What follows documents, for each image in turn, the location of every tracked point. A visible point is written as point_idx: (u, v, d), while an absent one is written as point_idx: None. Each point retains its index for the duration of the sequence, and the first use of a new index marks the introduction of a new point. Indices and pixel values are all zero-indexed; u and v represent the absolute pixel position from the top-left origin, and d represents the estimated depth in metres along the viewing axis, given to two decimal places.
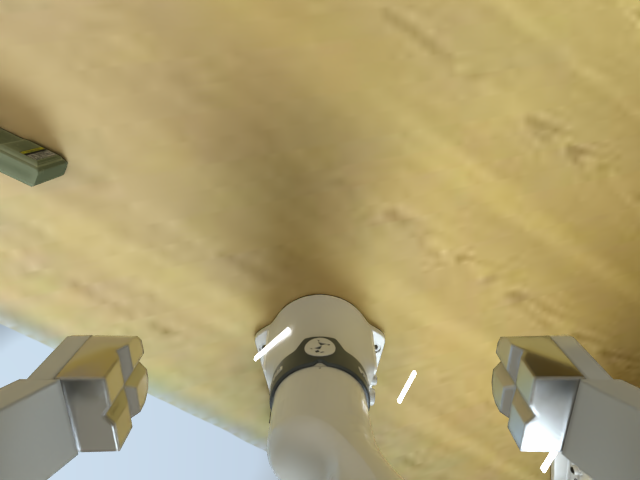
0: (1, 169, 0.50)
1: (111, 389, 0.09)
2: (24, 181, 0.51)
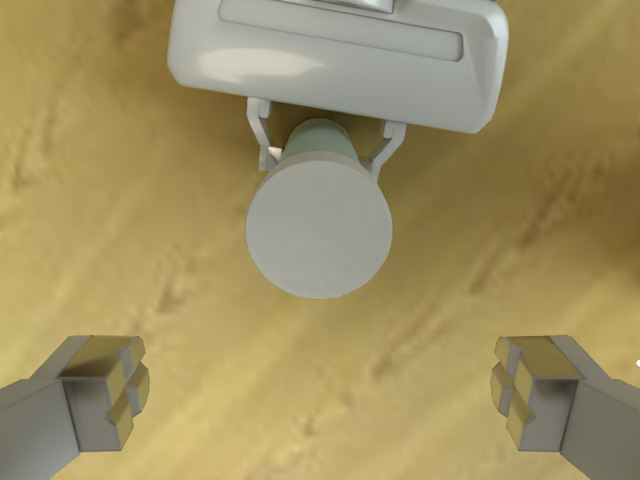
0: None
1: (112, 390, 0.09)
2: None
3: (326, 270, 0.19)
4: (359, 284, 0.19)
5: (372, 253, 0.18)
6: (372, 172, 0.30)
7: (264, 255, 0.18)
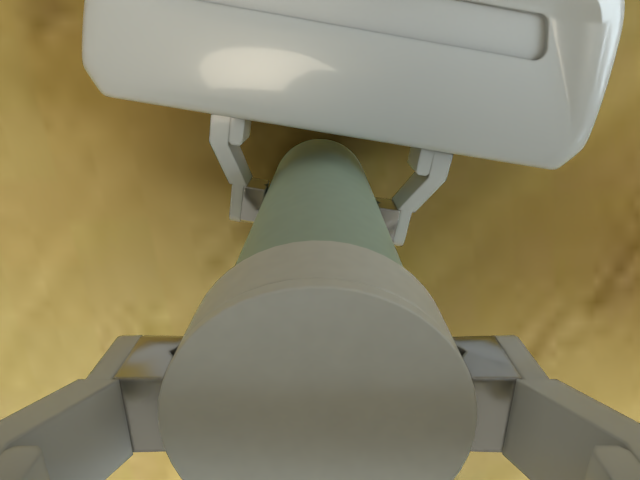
0: None
1: None
2: None
3: None
4: None
5: (431, 463, 0.09)
6: (398, 224, 0.20)
7: (203, 466, 0.09)
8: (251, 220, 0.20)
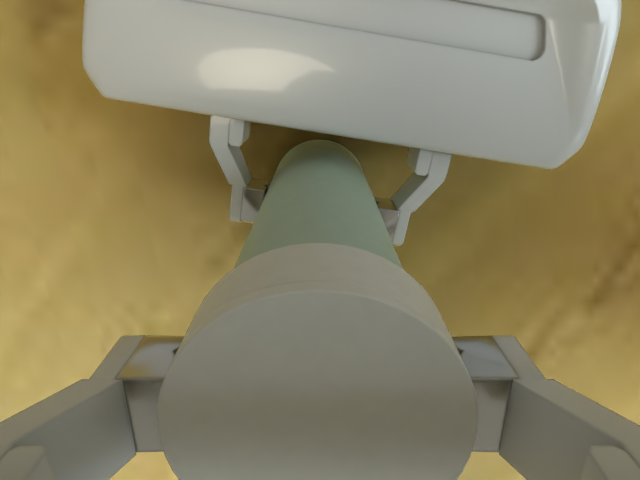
0: None
1: None
2: None
3: (405, 435, 0.08)
4: (464, 383, 0.08)
5: (396, 344, 0.08)
6: (398, 224, 0.20)
7: None
8: (251, 221, 0.20)
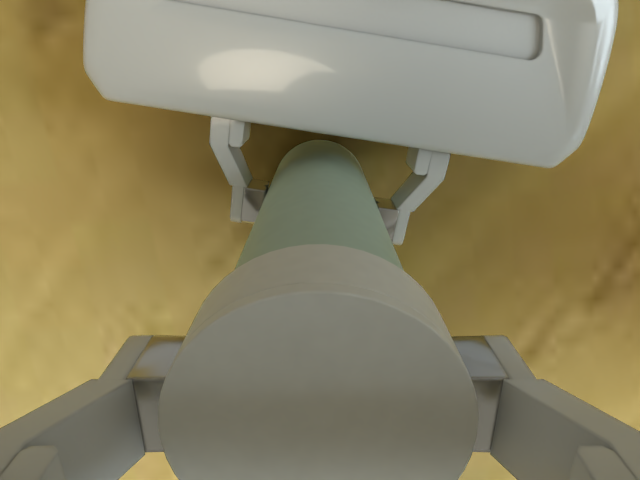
0: None
1: None
2: None
3: (345, 363, 0.08)
4: (290, 300, 0.07)
5: (227, 353, 0.08)
6: (397, 223, 0.20)
7: (446, 443, 0.08)
8: (252, 221, 0.20)
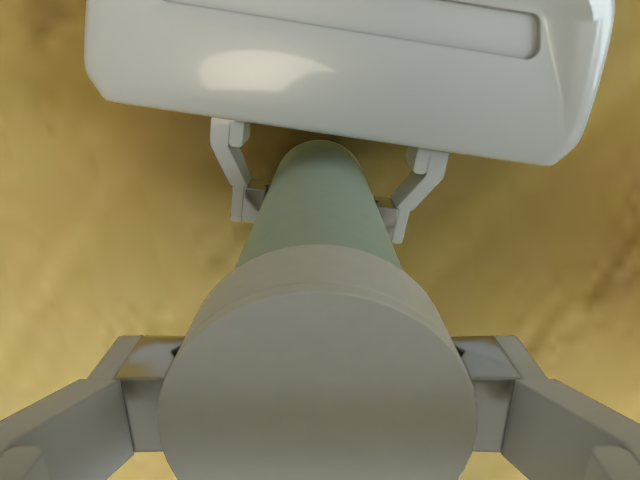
0: None
1: None
2: None
3: (238, 397, 0.08)
4: (164, 424, 0.08)
5: (210, 477, 0.09)
6: (397, 222, 0.20)
7: (363, 328, 0.08)
8: (252, 220, 0.21)
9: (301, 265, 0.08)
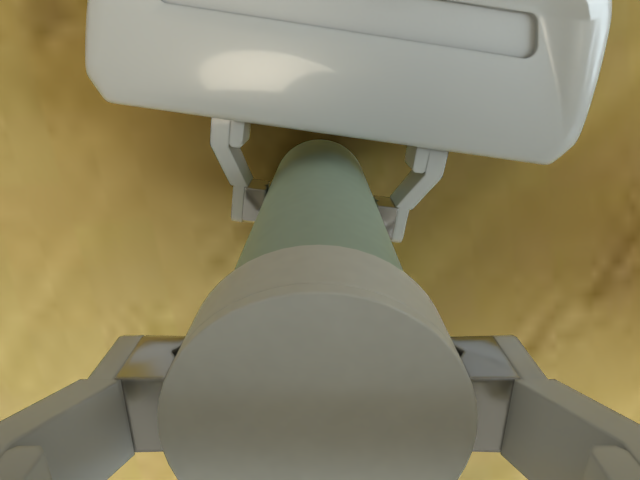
0: None
1: None
2: None
3: None
4: None
5: None
6: (396, 221, 0.21)
7: (202, 376, 0.08)
8: (253, 220, 0.21)
9: None
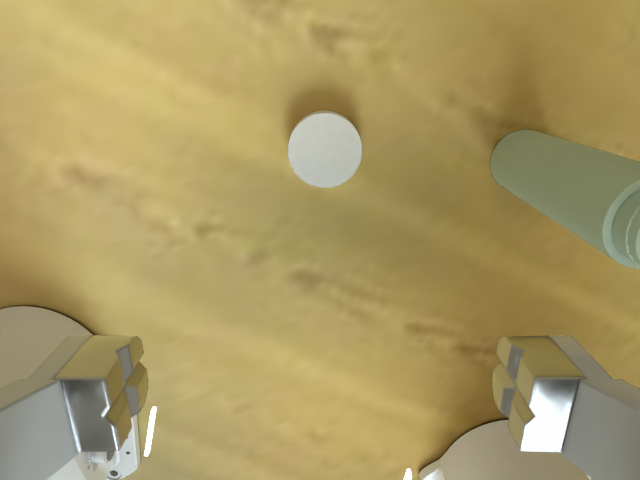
0: None
1: (111, 389, 0.09)
2: None
3: (335, 168, 0.36)
4: (354, 170, 0.36)
5: (354, 151, 0.36)
6: None
7: (303, 171, 0.36)
8: None
9: None
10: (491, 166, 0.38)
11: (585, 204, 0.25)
